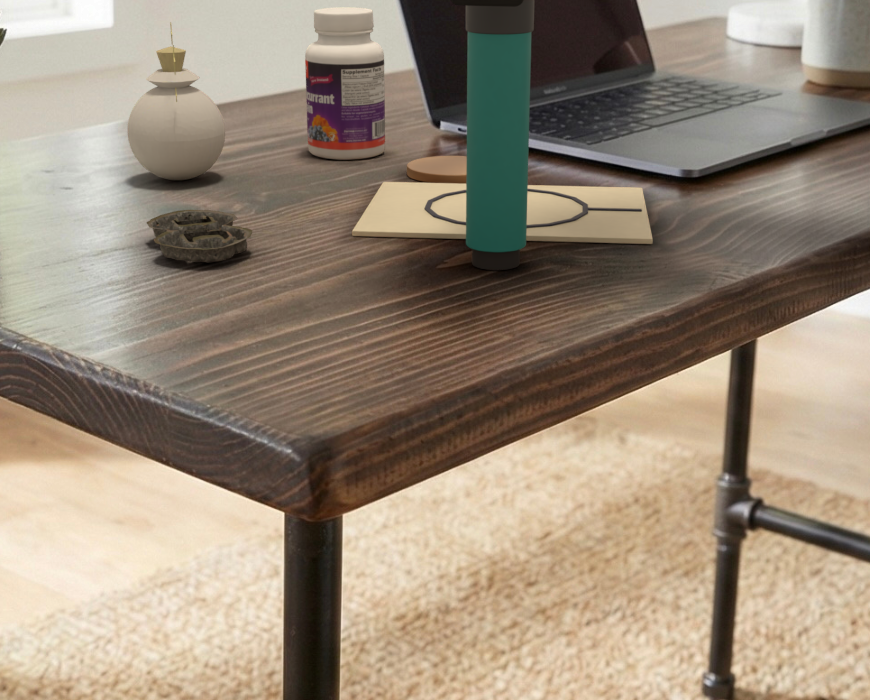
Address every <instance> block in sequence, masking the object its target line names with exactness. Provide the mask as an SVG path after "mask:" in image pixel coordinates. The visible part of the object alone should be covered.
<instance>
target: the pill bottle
mask: <svg viewBox="0 0 870 700" xmlns="http://www.w3.org/2000/svg"><path fill="white" fill-rule="evenodd" d="M374 25H375V23H374V12H373V10H372V9H371V8H365V7H348V6H344V7H341V6H340V7H324V8H318V9H314V11H313V29H314V33H316V34H317V40H316V41H314V42H312V43H310V44H309V45H308V46H307V48H306V50H305V52H304V53H305V54H304V67H305V69H304V70H305V90H306V91H305V96H306V130H307V132H306V134H307V147H308V151H309V153H310V154H311V155H312V156H315V157H318V158H321V159H329V160H336V161H337V160H339V161H350V160H351V161H352V160H363V159H370V158H374V157H377V156H379V155H382V154H383V153H384V151H385V148H386V116H385V115H386V102H385V101H386V100H385V93H386V91H385V90H386V89H385V85H386V84H385V52H384V49H383V47H382V46H381V44H379V43H378V42H376V41H374V40H372V38H371V34H372V32H374V27H375V26H374Z"/></svg>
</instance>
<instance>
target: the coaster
mask: <svg viewBox="0 0 870 700" xmlns="http://www.w3.org/2000/svg"><path fill="white" fill-rule="evenodd" d="M466 168H467V155H436V156H427V157H420V158H416V159H413V160H411V161H409V162H408V163H407V164H406V175H407V177H408V178H410V179H412V180H415V181H418V182H422V183H459V184H466Z"/></svg>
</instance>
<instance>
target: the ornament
mask: <svg viewBox="0 0 870 700" xmlns="http://www.w3.org/2000/svg"><path fill="white" fill-rule="evenodd" d="M169 24H170V39H171V46H168V47H164V48H161V49H157V50H155V52H156V55H157V59H158V61H159V64H160V67H161V68H159V69H156V70H155V71H154V72H153V73H151V74H150V75H149V76H148V77H146V78H145V80H146V81H148V82H149V83H151V84H153V85H154V86H155V87H153V88H151V89H149V90H148V91H146V92H145V93H143V95H142V96H141V97H139V99H138V100H137V101H136V103H135V104H134V106H133V107H132V109H131V111H130V114H129V117H128V121H127V139H128V143H129V147H130V149H131V152H132V153H133V156H134V157H135V159H136V160H137V162H139V164H140V165H141V166H142V167H143V168H144V169H145V170H147V171H148V172H149V173H150V174H153V175H155V176H156V177H159V178H161V179H164V180H168V181H169V180H170V181H186V180H187V181H188V180H191V179H194V178H197V177H199V176H202V174H204V173H206V172H207V171H208V170H210V169H211V168H212V167H213V166H214V165H215V164H216V162H217V161H218V159H219V158H220V156H221V154H222V152H223V149H224V145H225V141H226V127H225V120H224V117H223V115H222V113H221V111H220V109H219V106H217V104H216V103H215V101H213V99H212V98H211V97H210V96H209V95H207V94H206V93H205V92H204V91H202V90H201V89H199V88H197V87H194V86H192V84H193V83H195V82H196V81H198V80H199V79H200V76H198V75H197V74H196V73H194V72H192V71H191V70H189V69H188V68H184V67H183V66H184V63H185V57H186V53H187V50H186V49H182V48H179V47H175V45H174V44H173V42H174V41H173V29H172V22H171V21H170V22H169Z"/></svg>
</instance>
